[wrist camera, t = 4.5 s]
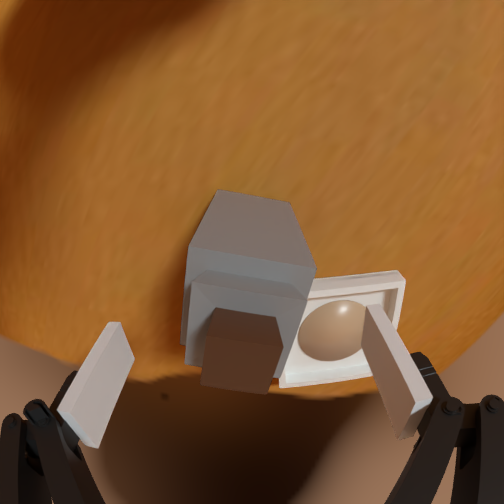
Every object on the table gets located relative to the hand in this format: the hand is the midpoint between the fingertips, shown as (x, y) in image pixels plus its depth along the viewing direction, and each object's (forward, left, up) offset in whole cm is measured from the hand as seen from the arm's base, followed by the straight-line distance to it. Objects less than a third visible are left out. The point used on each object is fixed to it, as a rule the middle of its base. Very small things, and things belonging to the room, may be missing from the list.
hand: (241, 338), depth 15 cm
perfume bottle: (0, 0, -16) cm, 16 cm away
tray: (+9, -13, -15) cm, 22 cm away
